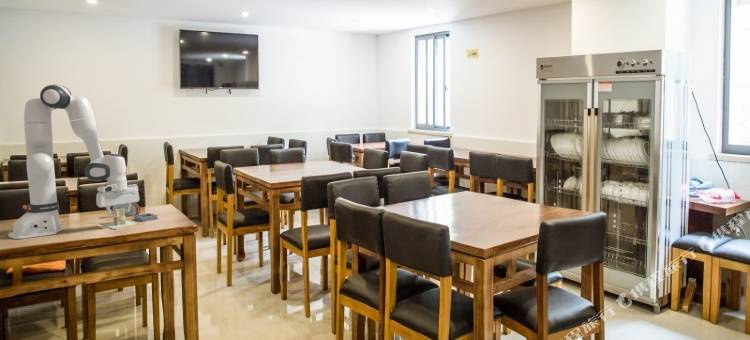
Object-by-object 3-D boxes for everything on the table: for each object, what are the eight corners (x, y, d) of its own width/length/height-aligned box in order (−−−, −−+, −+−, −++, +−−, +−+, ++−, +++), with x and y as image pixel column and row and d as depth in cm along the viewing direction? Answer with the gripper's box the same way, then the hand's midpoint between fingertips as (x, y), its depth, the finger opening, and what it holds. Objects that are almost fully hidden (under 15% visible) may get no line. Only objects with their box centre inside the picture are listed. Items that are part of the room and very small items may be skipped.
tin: (140, 216, 299) (139, 201, 298) (137, 218, 296) (136, 202, 294) (114, 216, 300) (113, 201, 299) (111, 217, 297) (110, 202, 296)
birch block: (117, 225, 274) (116, 209, 272) (114, 224, 276) (112, 208, 275) (125, 224, 277) (124, 208, 275) (122, 223, 279) (120, 207, 278)
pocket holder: (141, 224, 281) (141, 218, 280) (132, 221, 287) (131, 215, 287) (159, 220, 288) (159, 215, 288) (150, 218, 295) (150, 212, 294)
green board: (113, 230, 268) (113, 228, 268) (102, 226, 276) (102, 224, 276) (137, 225, 277) (137, 223, 277) (126, 222, 285) (126, 220, 285)
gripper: (134, 182, 284) (136, 209, 286) (93, 188, 268) (95, 215, 270) (140, 184, 280) (142, 210, 281) (99, 189, 264) (101, 217, 266)
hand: (119, 213), depth 276 cm, fingers open, 7 cm apart
